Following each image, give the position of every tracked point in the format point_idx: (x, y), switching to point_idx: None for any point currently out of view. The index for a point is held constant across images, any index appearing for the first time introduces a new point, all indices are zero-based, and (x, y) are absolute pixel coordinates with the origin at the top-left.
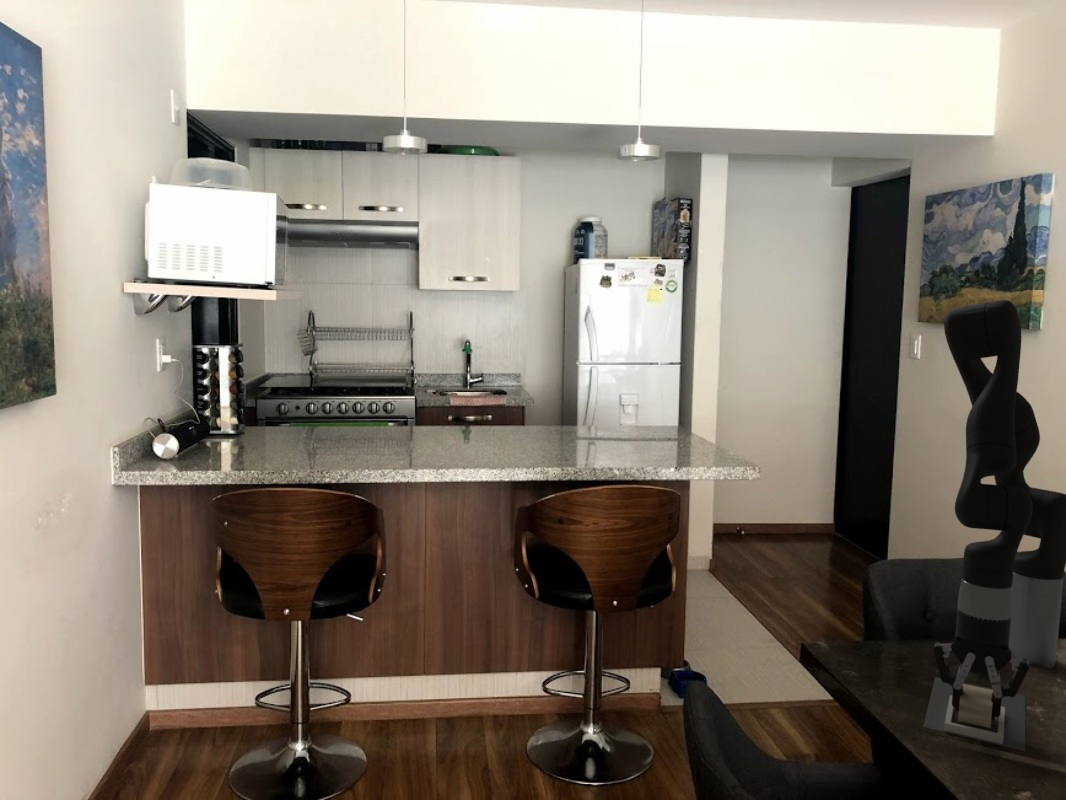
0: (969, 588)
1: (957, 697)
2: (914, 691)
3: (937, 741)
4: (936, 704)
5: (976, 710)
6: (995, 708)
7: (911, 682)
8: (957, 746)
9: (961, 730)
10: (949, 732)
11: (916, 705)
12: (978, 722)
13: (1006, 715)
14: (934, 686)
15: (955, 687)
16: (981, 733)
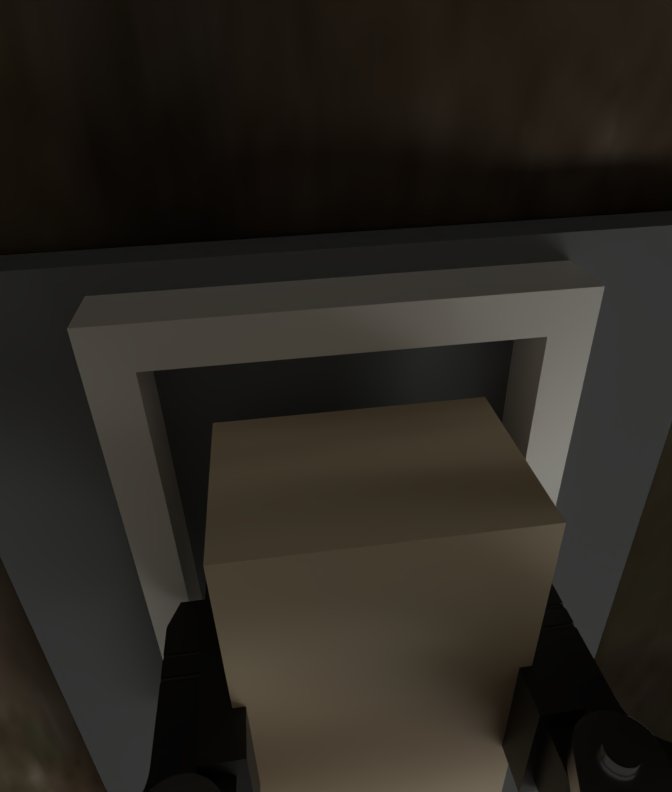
0: None
1: (545, 635)
2: (635, 685)
3: (602, 112)
4: (570, 606)
5: (366, 506)
6: (202, 656)
7: None
8: (442, 116)
9: (444, 282)
10: (528, 245)
11: (655, 567)
12: (320, 429)
13: None
14: None
15: (625, 727)
16: (273, 305)
